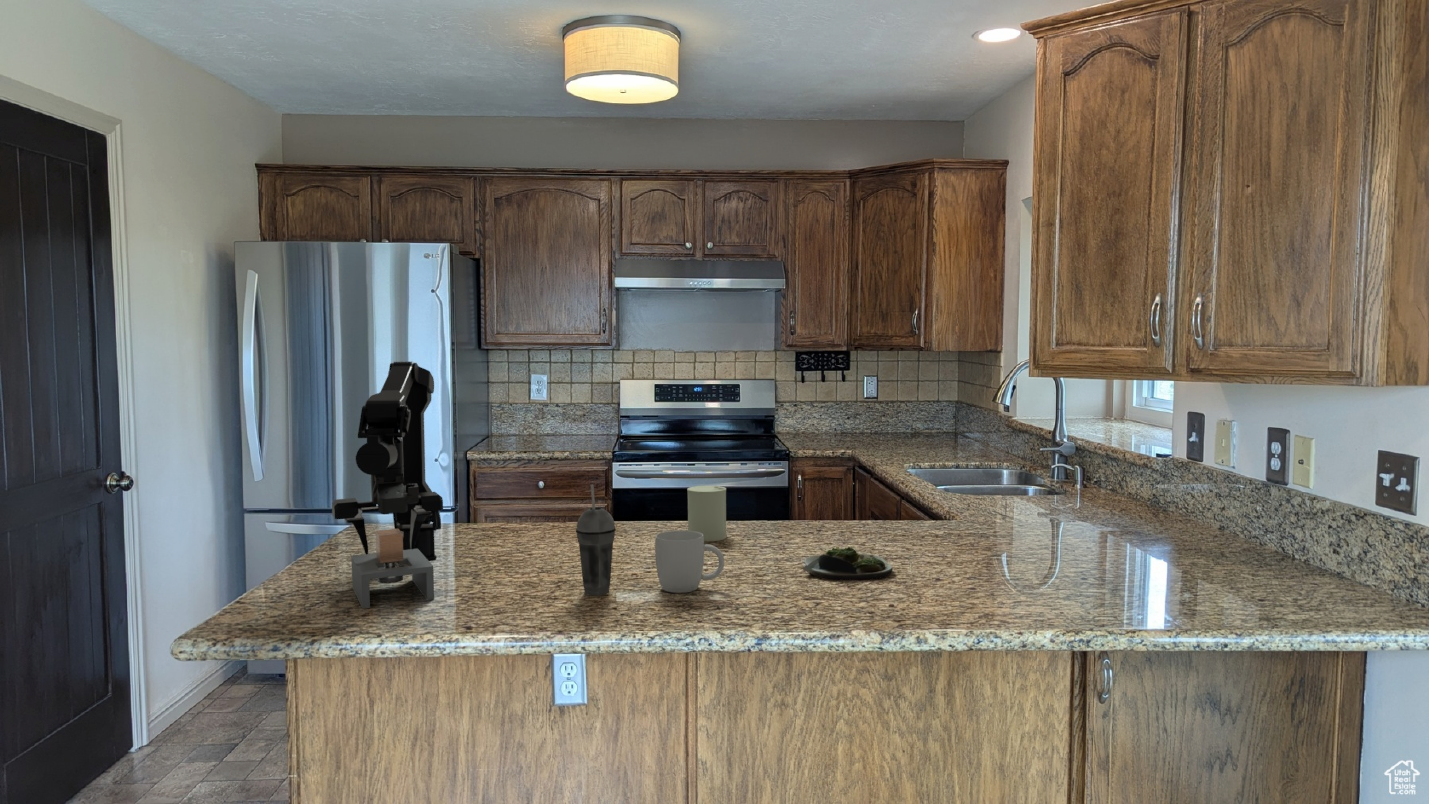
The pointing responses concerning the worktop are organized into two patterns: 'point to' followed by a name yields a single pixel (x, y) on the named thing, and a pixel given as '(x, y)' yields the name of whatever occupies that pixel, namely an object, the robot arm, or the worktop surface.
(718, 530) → the can
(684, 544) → the mug
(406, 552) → the keyhole plate
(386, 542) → the brown and silver block
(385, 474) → the robot arm
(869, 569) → the salad plate
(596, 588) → the beverage cup
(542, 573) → the worktop surface
